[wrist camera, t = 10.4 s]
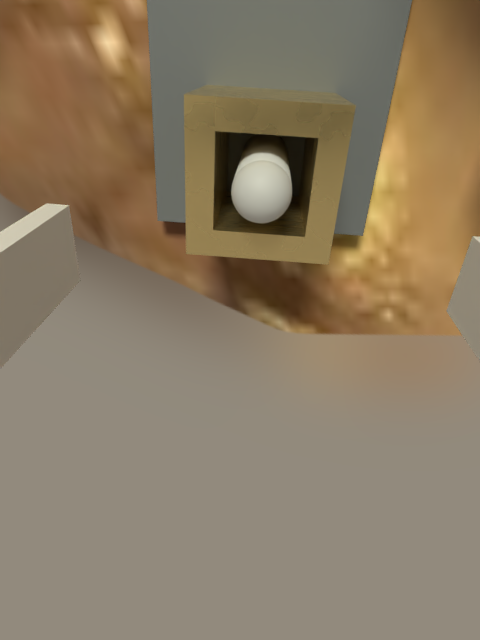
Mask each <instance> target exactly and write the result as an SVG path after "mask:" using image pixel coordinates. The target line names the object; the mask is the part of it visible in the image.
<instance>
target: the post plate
mask: <svg viewBox="0 0 480 640" xmlns="http://www.w3.org/2000/svg"><path fill="white" fill-rule="evenodd" d="M411 3H412V0H147V11H148V31H149V51H150V72H151V92H152V112H153V133H154V153H155V173H156V194H157V214H158V221H169V222H183V223H186V214H185V142H184V94H186V93H188V92H191V91H193V90H195V89H198V88H200V87H203V86H205V85H218V86H234V87H250V88H266V89H281V90H297V91H313V92H328V93H336V94H338V95H340V96H341V97H343V98H345V99H346V100H348V101H350V102H351V103H353V104H355V105H356V108H355V114H354V120H353V125H352V131H351V137H350V143H349V149H348V154H347V160H346V166H345V172H344V177H343V183H342V189H341V195H340V201H339V206H338V212H337V218H336V224H335V229H334V234H347V235H360V236H363V232H364V227H365V223H366V218H367V213H368V208H369V204H370V199H371V194H372V189H373V185H374V180H375V175H376V170H377V165H378V161H379V156H380V151H381V146H382V142H383V137H384V132H385V127H386V123H387V118H388V113H389V108H390V103H391V99H392V94H393V89H394V84H395V80H396V75H397V70H398V65H399V60H400V56H401V51H402V46H403V41H404V37H405V32H406V27H407V22H408V18H409V13H410V8H411ZM304 145H305V137H296V136H281V135H266V134H251V133H236V132H229V148H228V175H227V191H231V196H232V201H233V204H234V206H235V208H236V210H237V211H238V212H239V214H240V215H241V216H242V217H244V218H245V219H247V220H249V221H251V222H255V223H268V222H272V221H274V220H276V219H278V218H279V217H280V216H281V215H283V214H284V212H285V211H286V210H287V208H288V206H289V204H290V202H291V198H292V196H298V194H299V186H300V177H301V169H302V161H303V153H304Z"/></svg>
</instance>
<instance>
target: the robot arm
mask: <svg viewBox="0 0 480 640" xmlns="http://www.w3.org/2000/svg"><path fill="white" fill-rule="evenodd" d="M79 281H80V273H79V267H78V261H77V254H76V248H75V242H74V235H73V228H72V222H71V215H70V209H69V205H58V204H45V205H43V206H42V207H40V208H38V209H37V210H35V211H34V212H32V213H30V214H29V215H27V216H25V217H24V218H22V219H21V220H19V221H17V222H16V223H14V224H13V225H11V226H9V227H8V228H6V229H4V230H3V231H1V232H0V368H2V366H3V365H4V364H5V363H6V362H7V361H8V360H9V358H11V356H12V355H13V354H14V353H15V352H16V351H17V350H18V349H19V348H20V346H21V345H22V344H23V343H24V342H25V341H26V340H27V339H28V338H29V336H30V335H31V334H32V333H33V332H34V331H35V330H36V329H37V328H38V327H39V326H40V325H41V323H42V322H43V321H44V320H45V319H46V318H47V317H48V316H49V315H50V314H51V312H52V311H53V310H54V309H55V308H56V307H57V306H58V304H60V302H61V301H62V300H63V299H64V298H65V297H66V296H67V295H68V294H69V293H70V291H71V290H72V289H73V288H74V287H75V286H76V285H77V284H78V283H79ZM447 312H448V314H449V315H450V317H451V319H452V320H453V322H454V323H455V325H456V326H457V328H458V329H459V331H460V332H461V334H462V335H463V337H464V338H465V340H466V341H467V343H468V344H469V346H470V347H471V349H472V350H473V352H474V353H475V355H476V357H477V358H478V359H479V361H480V237H476V236H472V239H471V242H470V245H469V248H468V251H467V254H466V257H465V260H464V262H463V265H462V268H461V271H460V274H459V277H458V280H457V283H456V285H455V288H454V291H453V294H452V297H451V300H450V303H449V306H448V308H447Z"/></svg>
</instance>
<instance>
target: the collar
mask: <svg viewBox="0 0 480 640" xmlns="http://www.w3.org/2000/svg"><path fill="white" fill-rule="evenodd" d="M355 108H356V105H355V104H353V103H351V102H350V101H348V100H346V99H345V98H343V97H341V96H340V95H338V94H336V93H328V92H313V91H297V90H281V89H266V88H250V87H234V86H218V85H205V86H203V87H200V88H198V89H195V90H193V91H191V92H188V93H186V94H184V142H185V214H186V254H195V255H208V256H221V257H235V258H248V259H261V260H274V261H287V262H300V263H314V264H327V265H328V264H329V258H330V253H331V247H332V241H333V235H334V229H335V224H336V218H337V212H338V206H339V201H340V195H341V189H342V183H343V177H344V172H345V166H346V160H347V154H348V149H349V143H350V137H351V131H352V125H353V120H354V114H355ZM229 132H236V133H251V134H266V135H281V136H296V137H305V145H304V153H303V161H302V169H301V177H300V186H299V194H298V196H292V198H291V202H290V204H289V206H288V208H287V210H286V211H285V212H284V214H283V215H281V216H280V217H279V218H278V219H276V220H274V221H272V222H268V223H255V222H251V221H249V220H247V219H245V218H244V217H242V216H241V215H240V214H239V212H238V211H237V210H236V208H235V206H234V204H233V201H232V196H231V191H227V175H228V148H229Z"/></svg>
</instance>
